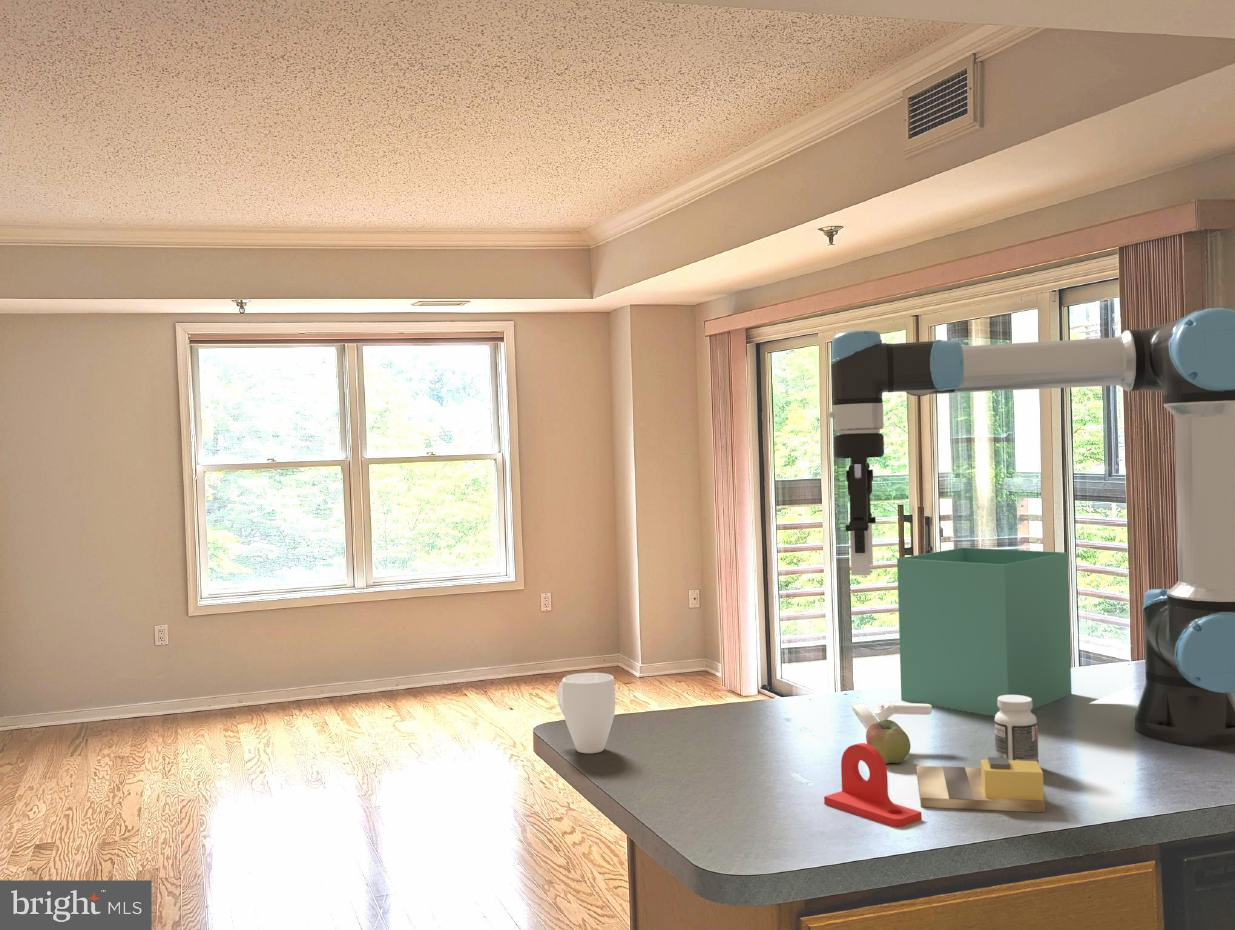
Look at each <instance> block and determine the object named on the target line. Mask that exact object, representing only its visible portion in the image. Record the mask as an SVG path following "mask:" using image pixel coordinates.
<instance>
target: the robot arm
mask: <svg viewBox="0 0 1235 930" xmlns="http://www.w3.org/2000/svg"><path fill="white" fill-rule="evenodd" d="M830 366H831V389H832V390H831V391H832V392H831V393H832V404H833V407H832V408H833V410H834V411H829V414H828V417H829V418H832V419H833V430H834V431H836V432H837V433H838V434H835V435H834V437H833V452H834V453H833V454H834V457H835V458H836V459H850V464H849V465H848V470H845V478H846V479H845V480H846V483H847V495H848V496H849V522H848V524H845V532H849V536H850V539H849V540H850V541H849V543H850V568H851V569H850V573H851V576H871V566H873V565H874V561H873V559H874V555H873V553H874V552H873V526H872V524H877V523H876V522H877V521H876V520H877V519H876V516H873V514H872V506H871V505H872V504H871V494H872V493H873V481H874V469H871V468H870V466H871V465H870V463H869V462H868V458H881V457H883V456H884V455H885V442H884V441H885V439H884V438H885V436H884V435H883V433H882V432H880V430H883V429H884V428H885V427H884V426H885V425H884V423H885V422H884V403H883V394H884V393H900V392H903V393H906V394H907V395H910V396H913V397H924V396H928V395H938V394H939V395H940V394H941V395H943V394H952V393H953V394H954V393H955V394H957V393H976V392H981V393H982V392H997V391H998V392H999V391H1001V392H1002V391H1019V390H1021V391H1023V390H1024V391H1025V390H1045V389H1046V390H1047V389H1067V388H1089V387H1110V386H1111V387H1112V386H1119V387H1120V388H1122V389H1123V390H1124V391H1126V392H1140V391H1141V392H1160V393H1161V392H1162V394H1163V402H1162V403H1163V407H1164V408H1165V409H1166V410H1167V411H1168V412H1170V414H1171V415H1173V417H1174V419H1175V461H1176V463H1175V466H1176V509H1177V510H1176V516H1177V517H1176V519H1177V523H1176V524H1177V556H1178V557H1177V566H1178V570H1177V571H1178V572H1177V573H1178V581H1177V582H1176V583H1175V584H1174V585H1173V586H1172V587H1171V588H1151V589H1149V590H1147V591H1146V592H1145V594H1144V596H1143V606H1142V608H1141V609H1142V613H1143V629H1144V630H1143V633H1144V635H1143V636H1144V666H1145V667H1144V669H1145V685H1144V688H1143V690H1142V693H1141V696H1140V699H1139V703H1138V706H1137V708H1136V711H1135V715H1134V730H1135V731H1136V732H1137V733H1138V734H1139V735H1140V736H1143V737H1144V738H1145V737H1146V738H1149V739H1152V740H1154V741H1155V740H1156V741H1160V742H1165V743H1169V744H1175V745H1184V746H1196V747H1197V746H1198V747H1221V746H1222V747H1223V746H1229V745H1230V746H1231V745H1234V744H1235V699H1234V696H1233V693H1235V309H1231V308H1223V307H1213V308H1211V307H1209V308H1205V309H1199V310H1195V311H1192V312H1191V313H1189V314H1187V315H1185V316H1183V317H1181V318H1179V319H1178V318H1177V319H1175V320H1173V321H1170V322H1167V323H1164V324H1160V325H1157V326H1152V327H1148V328H1146V327H1145V328H1140V329H1128V330H1127V329H1125V330H1124V331H1123V332H1122V333H1121V334H1119V336H1117V337H1115V336H1114V337H1101V338H1098V337H1097V338H1084V339H1081V338H1080V339H1066V340H1051V341H1050V340H1048V341H1031V342H1015V343H1013V342H1012V343H1001V344H1000V343H999V344H997V343H996V344H984V345H983V344H981V345H979V344H978V345H964V346H962V344H961V342H959V341H958V340H942V339H935V340H929V341H928V340H926V341H915V342H914V341H913V342H899V343H897V342H896V343H890V342H889V343H887V342H883V341H882V338H881V334H880V332H878V331H876V330H851V331H844V332H839V333H837V334H836V335H834V337H833V338H832V340H831V362H830Z"/></svg>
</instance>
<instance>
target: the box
mask: <svg viewBox="0 0 1235 930" xmlns="http://www.w3.org/2000/svg"><path fill="white" fill-rule="evenodd" d="M1068 554H1069V553H1068V552H1067V551H1066V552H1062V551H1061V552H1060V551H1045V550H1043V551H1041V550H1021V549H1003V548H1002V549H998V548H979V547H958V548H954V549H946V550H940V551H936V552H929V553H923V554H915V555H911V556H904V557H899V558H896V563H897V564H896V565H897V567H896V568H897V594H898V596H897V598H898V603H897V604H898V630H899V631H898V633H899V635H898V636H899V663H900V665H899V666H900V696H901V697H900V699H901V701H902V702H903V701H904V702H909V703H916V704H930V705H931V706H932V707H937V706H938V708H942V707H944V708H943V709H948V708H952V709H951V710H954V709H958V710H957V711H960V710H962V711H961V712H965V711H967V712H966V713H971V712H975V713H974V714H977V713H978V714H977V715H983V714H985V715H984V716H988V715H993V716H992V717H994V716H995V715H996V714H997V713H998V712H999V711H1000V708H999V707H998V705H997V701H998V697H999V696H1002V695H1021V696H1027V697H1030V698H1031V699H1032V705H1033V707H1032V709H1033V710H1035V709H1038V708H1040V707H1043V706H1045V705H1048V704H1051V703H1052V702H1055V701H1057V700H1060V699H1062V698H1065V697H1067V696H1070V695H1072V671H1071V670H1072V666H1071V665H1072V662H1071V661H1072V660H1071V632H1070V631H1071V629H1070V626H1071V625H1070V591H1069V590H1070V588H1069V562H1068V561H1069V560H1068V559H1069V557H1068ZM1032 709H1031V711H1033V710H1032Z"/></svg>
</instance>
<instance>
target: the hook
mask: <svg viewBox="0 0 1235 930" xmlns="http://www.w3.org/2000/svg"><path fill="white" fill-rule="evenodd" d="M851 709H852V711H853V712H854V714H855V716H856V717H857V719H858V720H859V722H860V723H861V725H862V726H863V727H864V728H865V731H867V729H868V728H869V726H870V725H872V724H874V723H876V722H879V721H882V720H889V718H890V717H892V716H893V715H913V716H914V715H918V716H919V715H920V716H922V715H923V716H925V715H926V716H928V715H931V714H932V712H933V711H932V710H933V706H931V705H930V704H919V703H914V702H909V703H907V702H884V703H880V705H878V706H877V707H876V708H875V709H874V710H873V712H874V713H872V712H871V710H870V709H869V708H868V707H867V706H866V705H865V704H864V703H859V704H854V705H851Z"/></svg>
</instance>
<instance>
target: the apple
mask: <svg viewBox="0 0 1235 930" xmlns="http://www.w3.org/2000/svg"><path fill="white" fill-rule="evenodd" d="M865 740H866V744H869V745H871V746H872V747H874V748H875V749H876V750H877V751H878V752H879V753H880V755H881V756H882V758H883V760H884V762H885V765H888V764H891V763H892V764H901V763H902V762H904V761H905V759H906V758H907V757H908V755H909V753H910V752H911V746H912V745H911V741H910V738H909V736H908V734H907V733H906V732H905V731H904V729H903V727H901V726H900V725H899V724H898V723H897V722H896V721H894V720H891V719H887V720H882V721H879V720H878V722H876V723H874V724H872V725H870V726H869V728H868V729H867V730H866V732H865Z"/></svg>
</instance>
